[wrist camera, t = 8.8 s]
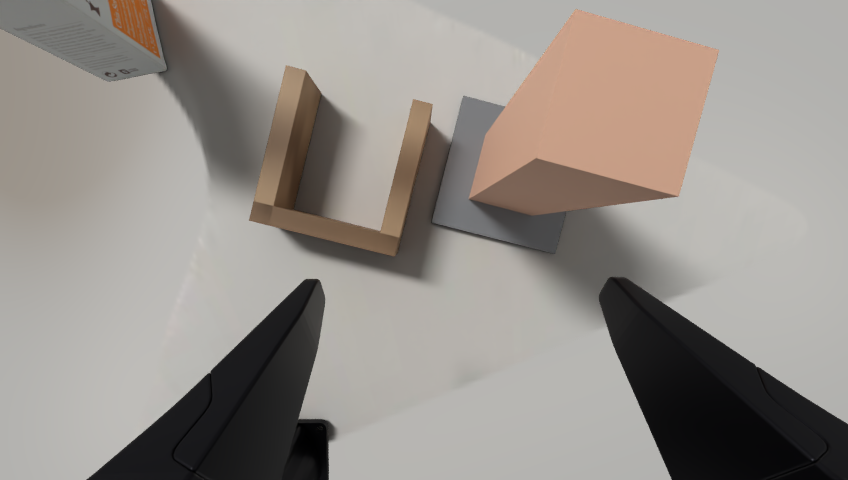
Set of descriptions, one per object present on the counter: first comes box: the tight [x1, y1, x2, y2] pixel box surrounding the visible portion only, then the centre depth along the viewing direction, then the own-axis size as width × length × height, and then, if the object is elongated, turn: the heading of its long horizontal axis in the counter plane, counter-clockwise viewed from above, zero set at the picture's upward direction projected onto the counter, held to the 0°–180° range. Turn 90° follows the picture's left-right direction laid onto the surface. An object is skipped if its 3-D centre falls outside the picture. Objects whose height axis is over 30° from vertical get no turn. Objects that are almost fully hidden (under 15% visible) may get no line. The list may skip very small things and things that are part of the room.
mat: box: [431, 96, 566, 254], centre depth 21 cm, size 9×9×1 cm
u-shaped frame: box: [249, 65, 433, 257], centre depth 20 cm, size 10×9×3 cm
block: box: [469, 9, 719, 216], centre depth 15 cm, size 5×5×12 cm
